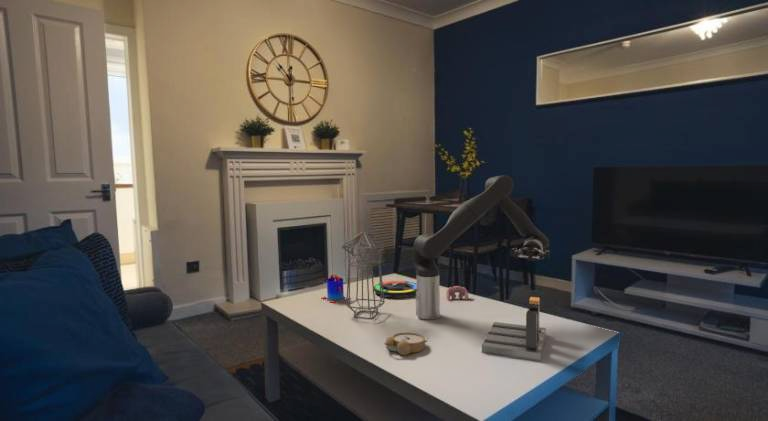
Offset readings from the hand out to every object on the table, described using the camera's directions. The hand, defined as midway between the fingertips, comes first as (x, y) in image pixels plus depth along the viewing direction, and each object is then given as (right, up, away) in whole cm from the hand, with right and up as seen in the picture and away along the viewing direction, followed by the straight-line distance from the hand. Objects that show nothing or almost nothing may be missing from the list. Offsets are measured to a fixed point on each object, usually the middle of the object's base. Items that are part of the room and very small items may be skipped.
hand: (528, 256), depth 162 cm
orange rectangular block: (-1, -24, -11) cm, 27 cm away
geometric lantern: (-61, -26, +19) cm, 70 cm away
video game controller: (-20, -24, +37) cm, 49 cm away
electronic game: (-48, -24, +51) cm, 73 cm away
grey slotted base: (-9, -28, -15) cm, 33 cm away
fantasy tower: (-77, -25, +42) cm, 91 cm away
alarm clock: (-47, -30, -17) cm, 58 cm away
